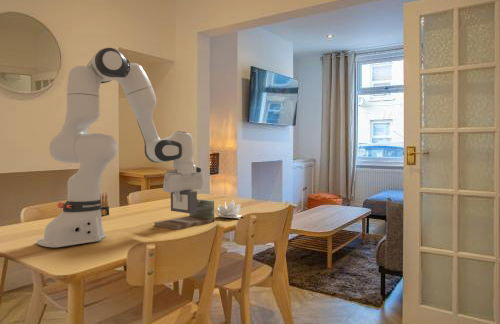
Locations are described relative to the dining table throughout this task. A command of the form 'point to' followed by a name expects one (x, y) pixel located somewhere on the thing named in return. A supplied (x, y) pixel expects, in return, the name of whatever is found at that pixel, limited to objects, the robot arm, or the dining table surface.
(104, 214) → the ammunition clip
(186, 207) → the picture frame
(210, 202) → the bookend
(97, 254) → the dining table surface
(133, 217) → the dining table surface
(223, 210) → the lotus flower
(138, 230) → the dining table surface
